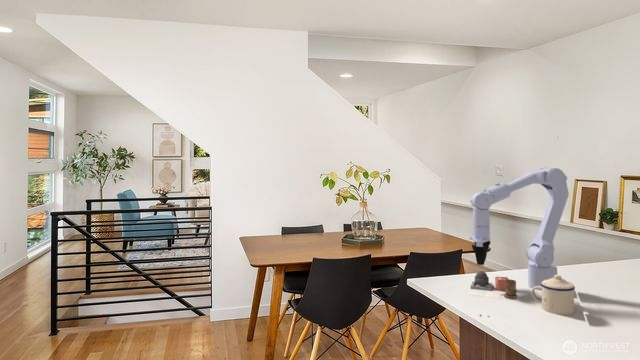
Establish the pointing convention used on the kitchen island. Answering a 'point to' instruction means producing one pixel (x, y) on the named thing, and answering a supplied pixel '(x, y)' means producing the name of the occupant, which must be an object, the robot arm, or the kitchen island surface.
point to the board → (483, 292)
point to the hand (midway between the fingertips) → (481, 262)
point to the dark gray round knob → (481, 279)
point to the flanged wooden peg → (510, 290)
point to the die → (500, 283)
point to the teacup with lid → (556, 296)
